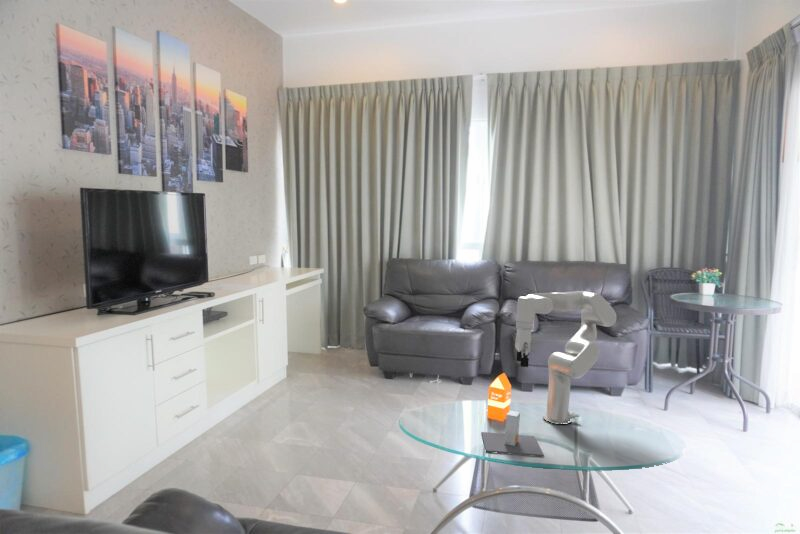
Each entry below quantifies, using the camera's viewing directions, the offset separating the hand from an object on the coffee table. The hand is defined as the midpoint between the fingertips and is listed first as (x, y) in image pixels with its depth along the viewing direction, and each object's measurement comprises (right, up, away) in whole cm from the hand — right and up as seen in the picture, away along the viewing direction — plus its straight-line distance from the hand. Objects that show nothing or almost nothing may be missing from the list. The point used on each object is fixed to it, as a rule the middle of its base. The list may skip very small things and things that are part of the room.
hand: (522, 363), depth 219 cm
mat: (-9, -29, -18) cm, 35 cm away
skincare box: (-9, -29, -17) cm, 34 cm away
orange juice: (-8, -27, +13) cm, 31 cm away
